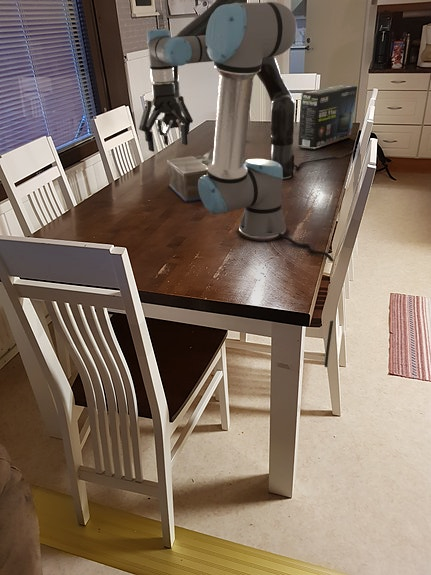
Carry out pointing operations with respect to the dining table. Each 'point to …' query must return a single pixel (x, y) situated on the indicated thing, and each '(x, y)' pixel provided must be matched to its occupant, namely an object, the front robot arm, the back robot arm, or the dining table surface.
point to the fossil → (206, 157)
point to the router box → (326, 115)
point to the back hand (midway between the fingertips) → (174, 143)
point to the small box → (186, 177)
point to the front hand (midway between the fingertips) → (168, 147)
